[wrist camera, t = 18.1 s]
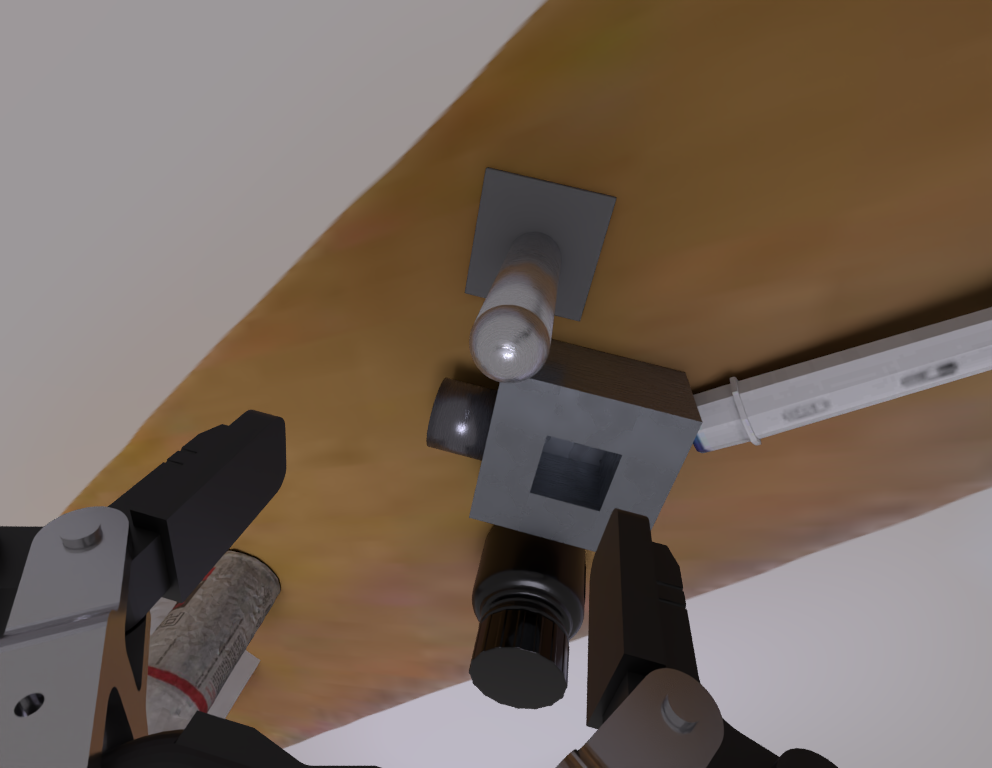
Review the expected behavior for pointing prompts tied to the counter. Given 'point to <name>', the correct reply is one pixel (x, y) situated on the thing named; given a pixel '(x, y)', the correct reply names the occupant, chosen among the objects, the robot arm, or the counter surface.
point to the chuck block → (570, 442)
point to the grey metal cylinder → (518, 312)
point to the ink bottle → (526, 617)
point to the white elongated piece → (844, 381)
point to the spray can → (205, 640)
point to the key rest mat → (545, 209)
